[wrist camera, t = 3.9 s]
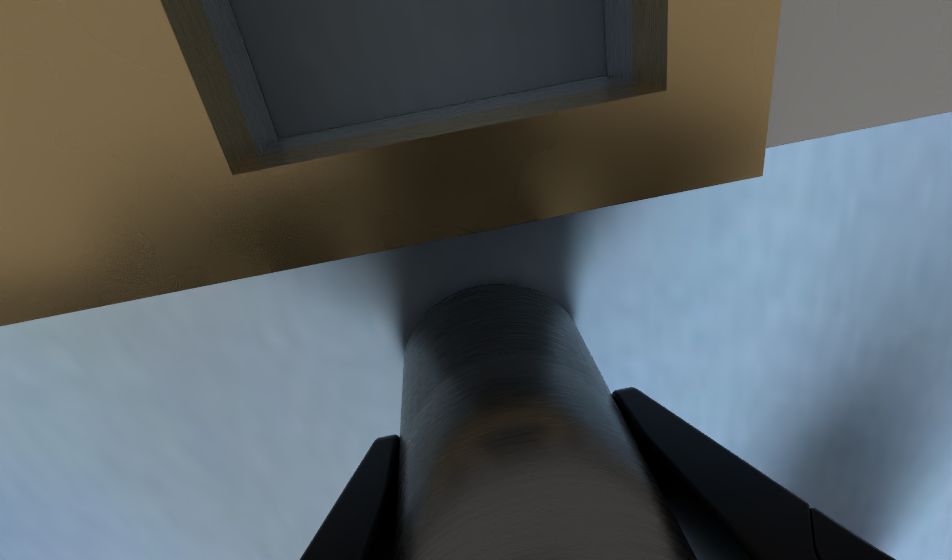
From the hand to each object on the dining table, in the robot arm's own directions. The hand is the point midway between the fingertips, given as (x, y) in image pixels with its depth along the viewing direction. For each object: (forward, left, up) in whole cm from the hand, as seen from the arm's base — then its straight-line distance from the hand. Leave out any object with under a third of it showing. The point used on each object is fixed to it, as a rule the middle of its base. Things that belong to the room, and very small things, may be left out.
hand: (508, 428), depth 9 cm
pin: (0, 0, -2) cm, 2 cm away
